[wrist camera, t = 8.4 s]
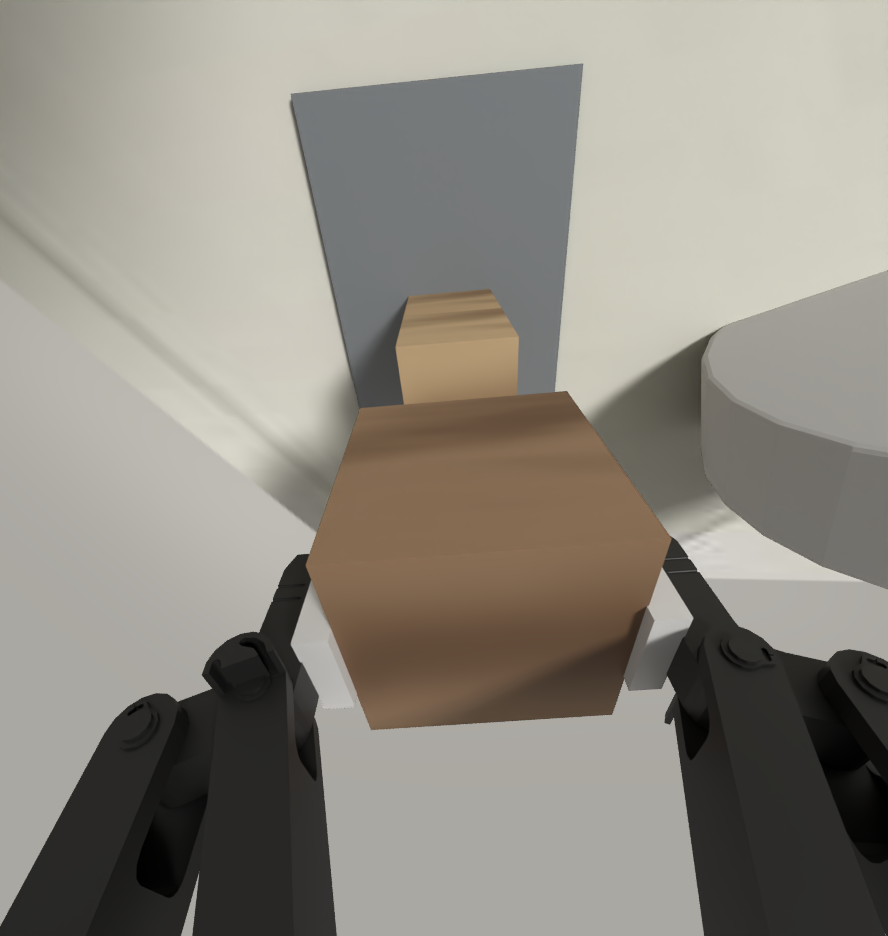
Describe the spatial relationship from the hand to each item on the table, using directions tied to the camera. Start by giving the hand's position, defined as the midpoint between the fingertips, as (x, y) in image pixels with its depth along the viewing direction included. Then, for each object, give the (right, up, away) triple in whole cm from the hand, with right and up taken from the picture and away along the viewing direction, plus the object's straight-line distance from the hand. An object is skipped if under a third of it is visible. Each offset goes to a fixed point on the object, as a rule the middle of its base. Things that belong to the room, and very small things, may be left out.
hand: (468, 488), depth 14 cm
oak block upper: (0, +6, +8) cm, 10 cm away
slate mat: (0, +10, +11) cm, 16 cm away
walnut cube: (0, 0, 0) cm, 0 cm away
